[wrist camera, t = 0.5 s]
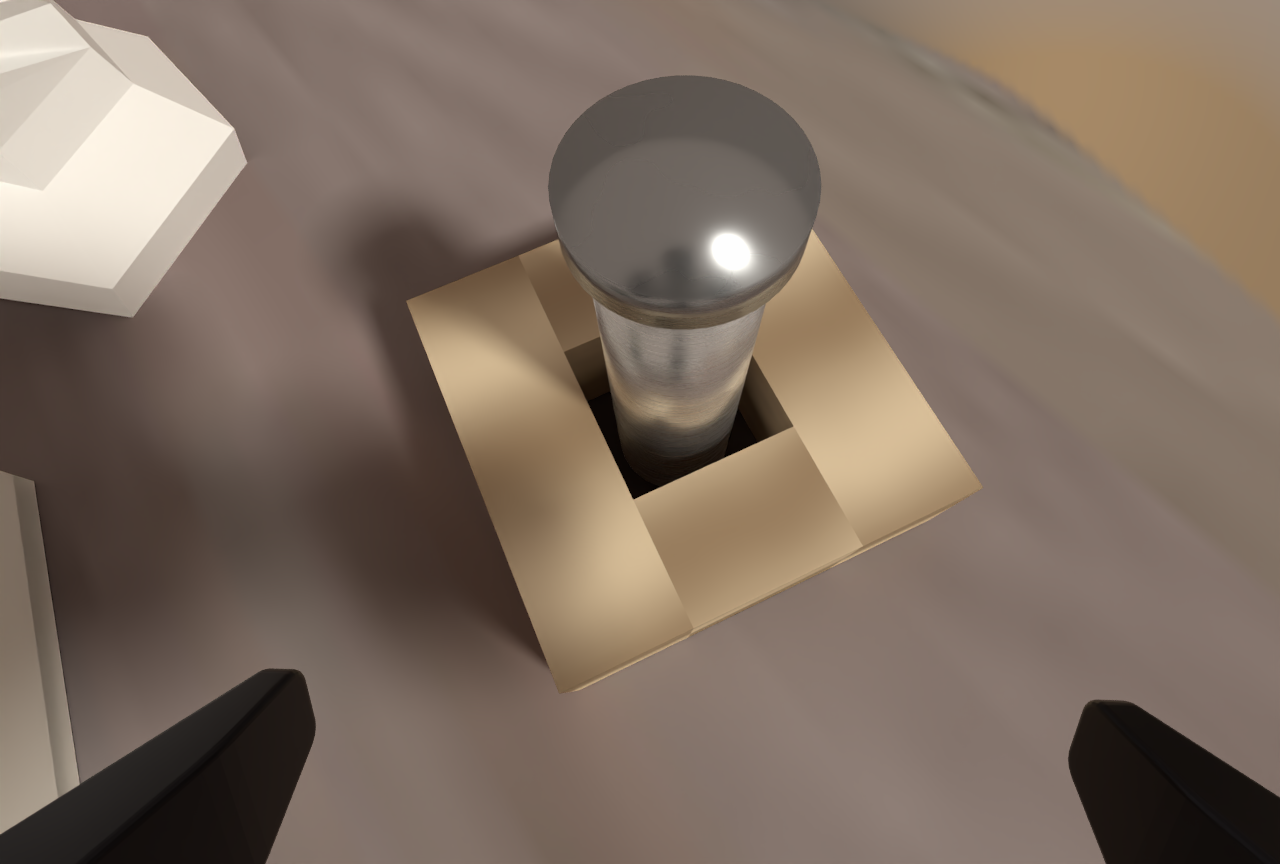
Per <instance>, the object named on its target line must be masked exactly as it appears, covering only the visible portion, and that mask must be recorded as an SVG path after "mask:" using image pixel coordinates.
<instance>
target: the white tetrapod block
mask: <svg viewBox="0 0 1280 864" xmlns="http://www.w3.org/2000/svg"><path fill="white" fill-rule="evenodd" d="M246 163H247V161H246V159H245V156H244V153H243V151H242V148H241V145H240V143H239V140H238V137H237V135H236V132H235V129H234V128H233V127H232V126H231V125H230V124H229V123H228V122H227V120H226V119H225V118H224V117H223V116H222V115H221V114H220V113H219V112H218V111H217V110H216V109H215V108H214V107H213V106H212V104H211V103H210V102H209V101H208V100H207V99H206V98H205V97H204V96H203V95H202V94H201V93H200V92H199V91H198V90H197V88H196V87H195V86H194V85H193V84H192V83H191V82H190V81H189V80H188V79H187V78H186V77H185V76H184V75H183V74H182V73H181V71H180V70H179V69H178V68H177V67H176V66H175V65H174V64H173V63H172V62H171V61H170V60H169V59H168V58H167V57H166V55H165V54H164V53H163V52H162V51H161V50H160V49H159V48H158V47H157V46H156V45H155V44H154V43H153V42H152V41H151V40H150V38H149V37H147V36H143V35H139V34H135V33H131V32H126V31H122V30H118V29H114V28H110V27H106V26H102V25H97V24H93V23H89V22H85V21H81V20H77V19H74V18H73V17H72V16H71V15H70V14H69V13H67V12H66V11H65V10H64V9H63V8H62V7H60V6H59V5H58V4H57V3H56V2H55V1H53V0H0V298H1V299H8V300H15V301H22V302H29V303H36V304H42V305H49V306H56V307H63V308H70V309H77V310H84V311H90V312H97V313H104V314H111V315H118V316H125V317H134V316H135V314H136V313H137V311H138V310H139V309H140V307H141V306H142V305H143V303H144V302H145V301H146V299H147V298H148V297H149V295H150V294H151V292H152V291H153V290H154V288H155V287H156V286H157V284H158V283H159V282H160V280H161V279H162V277H163V276H164V275H165V273H166V272H167V271H168V269H169V268H170V267H171V265H172V264H173V263H174V261H175V260H176V258H177V257H178V256H179V254H180V253H181V252H182V250H183V249H184V248H185V246H186V245H187V244H188V242H189V241H190V239H191V238H192V237H193V235H194V234H195V233H196V231H197V230H198V229H199V227H200V226H201V225H202V223H203V222H204V220H205V219H206V218H207V216H208V215H209V214H210V212H211V211H212V210H213V208H214V207H215V206H216V204H217V203H218V201H219V200H220V199H221V197H222V196H223V195H224V193H225V192H226V191H227V189H228V188H229V186H230V185H231V184H232V182H233V181H234V180H235V178H236V177H237V176H238V174H239V173H240V172H241V170H242V169H243V167H244V166H245V165H246Z"/></svg>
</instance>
